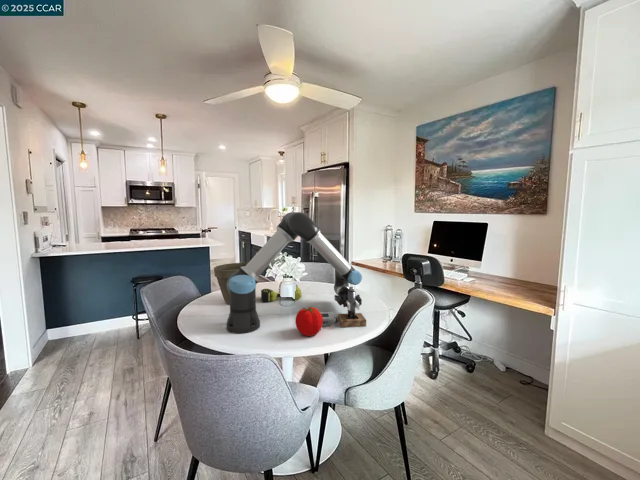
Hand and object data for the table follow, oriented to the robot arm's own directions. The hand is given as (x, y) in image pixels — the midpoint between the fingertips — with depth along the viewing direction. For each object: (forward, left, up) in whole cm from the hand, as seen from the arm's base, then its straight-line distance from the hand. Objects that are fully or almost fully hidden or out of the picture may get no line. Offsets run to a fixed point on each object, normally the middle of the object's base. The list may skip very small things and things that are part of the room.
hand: (354, 307), depth 137 cm
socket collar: (-13, +10, -9) cm, 19 cm away
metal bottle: (0, +5, -8) cm, 10 cm away
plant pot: (-61, +47, -10) cm, 78 cm away
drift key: (-15, +2, -9) cm, 18 cm away
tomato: (-21, -5, -10) cm, 24 cm away
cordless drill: (-35, +56, -10) cm, 66 cm away
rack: (0, +5, -9) cm, 11 cm away
